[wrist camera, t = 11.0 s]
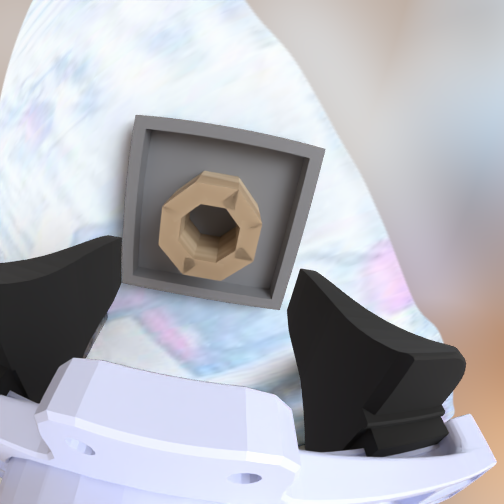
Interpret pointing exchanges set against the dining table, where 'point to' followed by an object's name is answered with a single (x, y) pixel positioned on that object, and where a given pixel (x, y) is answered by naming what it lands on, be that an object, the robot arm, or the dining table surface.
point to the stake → (95, 336)
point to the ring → (207, 246)
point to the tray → (216, 218)
